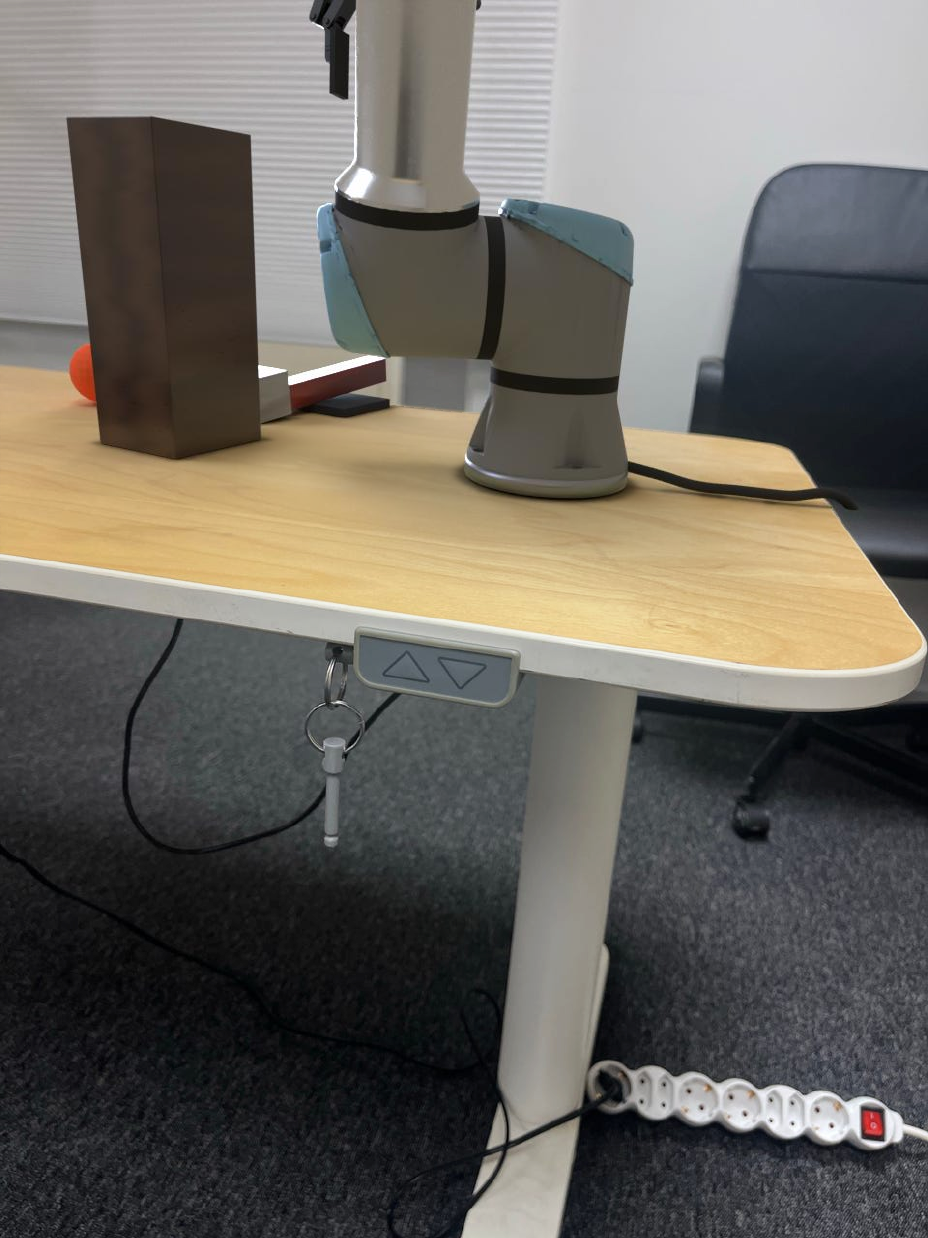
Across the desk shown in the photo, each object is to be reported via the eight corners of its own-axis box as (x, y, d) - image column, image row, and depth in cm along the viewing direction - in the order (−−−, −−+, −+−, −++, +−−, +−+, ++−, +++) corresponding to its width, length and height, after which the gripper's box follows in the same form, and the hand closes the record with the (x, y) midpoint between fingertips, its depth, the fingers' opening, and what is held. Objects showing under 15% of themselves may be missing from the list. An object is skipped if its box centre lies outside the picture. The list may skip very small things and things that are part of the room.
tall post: (261, 439, 92) (251, 134, 81) (175, 459, 83) (150, 115, 72) (189, 425, 97) (170, 133, 86) (100, 443, 87) (65, 116, 76)
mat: (389, 406, 114) (390, 398, 114) (344, 417, 106) (344, 408, 105) (279, 389, 122) (279, 381, 121) (228, 397, 113) (228, 389, 113)
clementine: (154, 403, 107) (149, 341, 105) (113, 411, 101) (107, 346, 99) (102, 395, 110) (96, 335, 107) (59, 403, 104) (51, 339, 101)
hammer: (392, 382, 117) (391, 343, 115) (260, 423, 100) (256, 378, 97) (363, 377, 120) (361, 338, 117) (229, 416, 102) (224, 372, 100)
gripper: (277, -135, 94) (278, 90, 100) (489, -183, 84) (476, 71, 90) (319, -101, 101) (317, 108, 107) (521, -142, 90) (506, 92, 96)
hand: (389, 91), depth 98 cm, fingers open, 13 cm apart
